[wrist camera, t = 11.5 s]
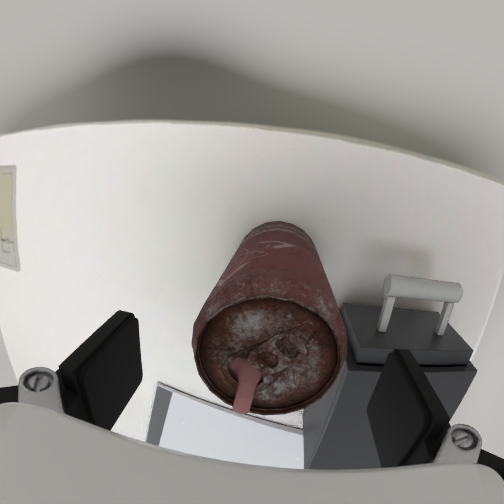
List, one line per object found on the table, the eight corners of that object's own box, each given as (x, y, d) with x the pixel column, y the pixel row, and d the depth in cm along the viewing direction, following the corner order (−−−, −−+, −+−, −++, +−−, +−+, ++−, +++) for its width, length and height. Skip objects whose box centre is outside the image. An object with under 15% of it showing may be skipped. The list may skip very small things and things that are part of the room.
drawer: (353, 254, 22) (377, 285, 16) (450, 268, 22) (493, 298, 15) (313, 406, 26) (316, 458, 20) (397, 408, 26) (414, 454, 19)
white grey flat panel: (157, 382, 28) (153, 388, 27) (373, 442, 28) (375, 449, 27) (136, 494, 37) (134, 499, 36) (272, 532, 37) (272, 537, 35)
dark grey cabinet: (331, 310, 24) (348, 370, 16) (435, 320, 24) (477, 370, 16) (302, 415, 28) (303, 479, 20) (393, 417, 27) (411, 474, 19)
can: (232, 289, 25) (179, 407, 11) (247, 212, 23) (195, 268, 10) (304, 305, 25) (318, 435, 11) (324, 230, 23) (376, 308, 9)
